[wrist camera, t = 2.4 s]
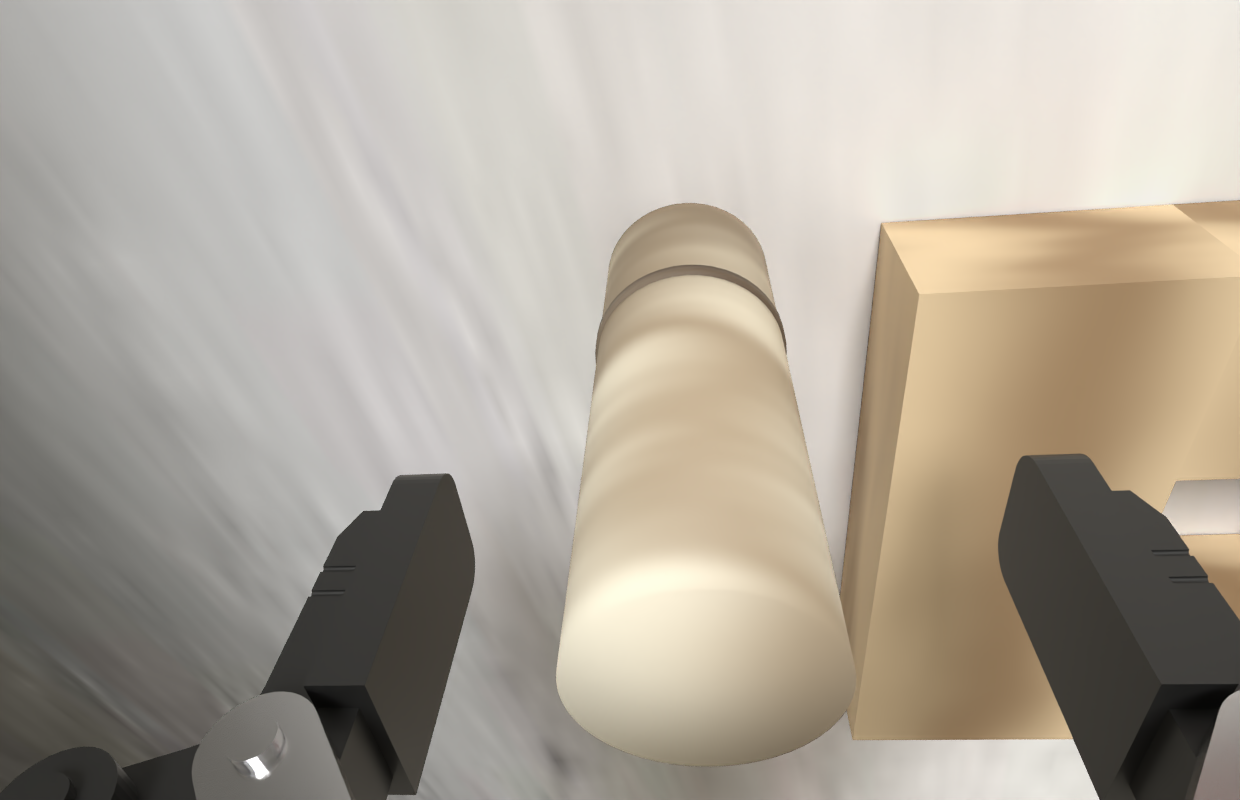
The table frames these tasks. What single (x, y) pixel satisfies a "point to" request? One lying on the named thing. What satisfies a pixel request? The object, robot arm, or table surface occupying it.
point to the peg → (698, 515)
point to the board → (1023, 435)
